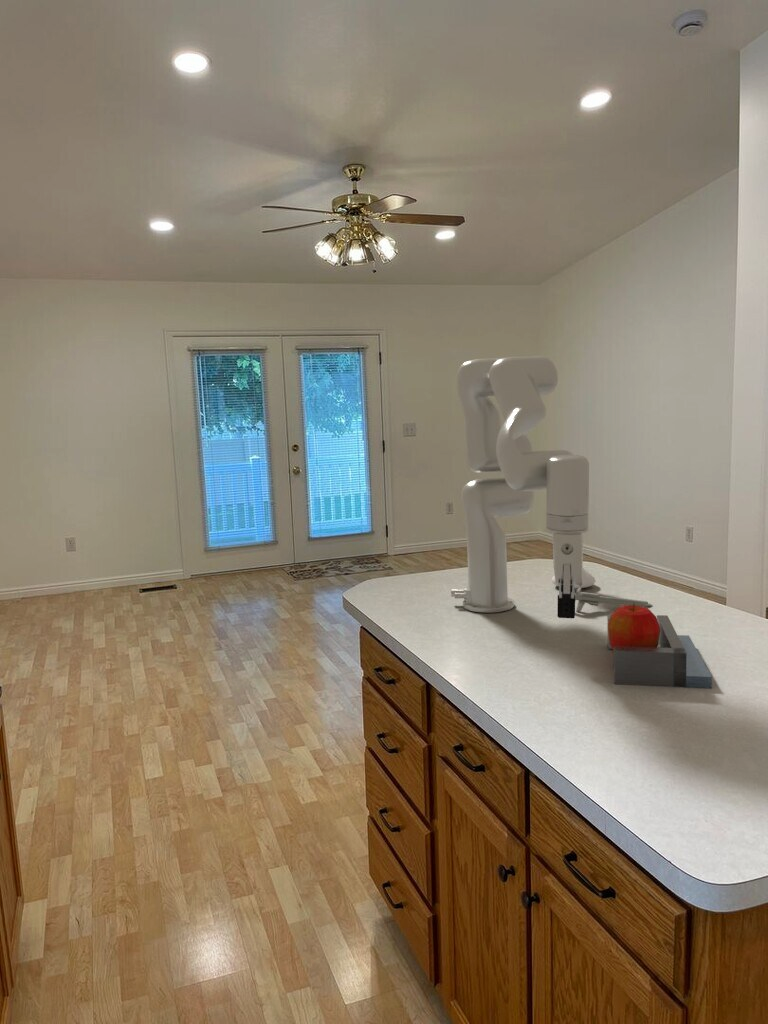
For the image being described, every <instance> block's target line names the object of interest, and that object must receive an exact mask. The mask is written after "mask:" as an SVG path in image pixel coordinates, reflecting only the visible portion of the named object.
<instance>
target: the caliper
mask: <svg viewBox="0 0 768 1024" xmlns="http://www.w3.org/2000/svg"><path fill="white" fill-rule="evenodd" d="M574 596H575V602H576V601H578V602H577V605H576V609H575V613H578V614H579V613H581V612H582V609H583V608H584V606H585V604H588V605H591V606H597V607H598V606H599V604H605V605H606V604H609V605H616V606H625V605H633V603H634V606H640V607H645V608H648V607H653V606H654V605H653V604H652V603H649V602H648V601H647V600H639V599H631V598H621V597H620V598H619V597H613V596H611V597H610V596H601V595H600V594H599V593H591V592H584V591H583V592H582V588H578V589H577V588H575V587H574Z"/></svg>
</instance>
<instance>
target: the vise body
mask: <svg viewBox="0 0 768 1024" xmlns="http://www.w3.org/2000/svg"><path fill="white" fill-rule="evenodd" d="M656 618H657V621H658V624H659V627H660V635H659V644H658V646H657V647H628V646H614V652H613V681H614V684H615V685H625V686H626V685H629V686H631V685H632V686H647V687H649V686H650V687H651V686H653V687H673V688H674V687H675V688H677V687H678V688H694V689H695V688H697V689H713V688H712V687H713V686H712V684H713V680H712V679H713V677H712V675H711V673H710V671H709V669H708V668H707V665H706V663H705V662H704V660H703V658H702V656H701V655H700V653H699V651H698V649H697V647H696V646H695V644H694V643H693V641H692V639H691V636H690V635H687V634H686V635H683V634H678V633H677V631H676V629H675V627H674V625H673V623H672V622H671V619H670V618H669V616H668V615H667V614H666V615H664V614H662V615H659V614H658V615H656Z"/></svg>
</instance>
